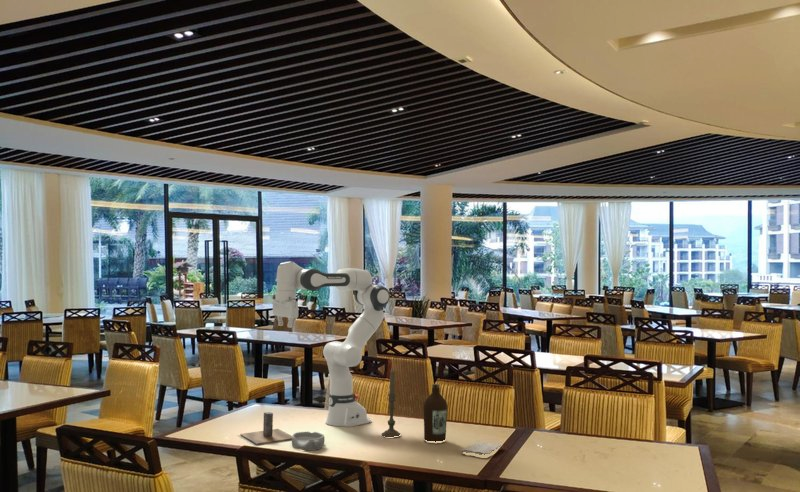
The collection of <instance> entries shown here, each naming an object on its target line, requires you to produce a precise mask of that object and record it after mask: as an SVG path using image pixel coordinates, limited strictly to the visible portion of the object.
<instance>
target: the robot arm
mask: <svg viewBox="0 0 800 492" xmlns="http://www.w3.org/2000/svg"><path fill="white" fill-rule="evenodd" d="M276 283H277V284H276V290H275V291H276V292H275V293H273V294H272V296H271V299H272V300H273V301H272V315H273V316H277V318H276V319H277V322H278V326H280V327H283V326H284V321H283V318H287V320H288V322H287V325H286V326H287V327H286V328H288V329H289V328H290V329H291V328H293V322H294V319H298V318H299V304H298V302H297V300H296V299H297V297H296V296H297V295H296V293H297V291H296V289H299V290H304V291H305V290H306V291H310V292H316V291H319V290H320V289H322V288H324V287H325V288H326V287H327V288H328V287H336V288H337V289H338V290H341V291H353V292H354V295H353V296H354V299H355V302H356V303H357V304H359V305H361V306H364V309H363V311H362V313H361V314H360V315H359V316H358V317H357V318H356V319H355V321H354V322H353V323H352V324H351V326H349V328H348V330H347V333H348V334H347V336H346V338H345V340H344V341H338V340H336V341H335V340H334V341H330V342H327V343H326V344H325V345H324V347H323V351H322V355H323V357H324V358H325V361H326V365H327V368H328V373H329V394H328V412H327V416H326V421H325V423H326V425H329V426H334V427H346V428H347V427H348V428H350V427H356V426H359V425H360V426H361V425H365V424H368V423H369V422H370V423H372V419H371V418H369V417H368V414H367V409H366V408H365V407H364V406H363V405H362V404H360V403H359V402H358V401H357V400H358V399H359V398H360V395H359V394H357V393H353V391H354V390H353V389H354V388H353V387H354V386H353V375H352V373H351V371H350V368H353V367H356V366H358V365H359V364H360V363H361V361H362V358H363V354H362V353H363V350H364V347H365V345H366V344H367V342H368V341H369V340H370V339H371V337H372V336H373V334H375V332H376V331H377V330H378V328H379V327H380V326H381V324H382V322H383V321H384V318H385V313H384V309H386V308H387V305H388V303H389V301H390V298H391V294H390V291H389V288H387V287H386V286H383V285H378V284H374V283H373V278H372V274H371V272H370V271H369V270H366V269H362V268H355V267H353V268H352V267H347V268H346V267H345V268H339V269H338V270H337V271H336V272H327V273H326V272H323V271H320V270H319V269H316V268H308V269H307V268H304V267H302V266H300V265H298V264H297V263H295V261H283V262H281V263H279V265H278V266H277V271H276Z"/></svg>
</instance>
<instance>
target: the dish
mask: <svg viewBox="0 0 800 492" xmlns="http://www.w3.org/2000/svg"><path fill="white" fill-rule="evenodd" d="M291 436H292V441H291V446H292V448H293V447H294V448H296V449H300V450H301V451H316V450H319V449H322V448H323V447H324V445H325V441H326V440H325V435H324V434H323V433H320V432H318V431H313V432H311V431H299V432H294V433H293V434H292V435H291Z"/></svg>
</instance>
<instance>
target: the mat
mask: <svg viewBox="0 0 800 492" xmlns="http://www.w3.org/2000/svg"><path fill="white" fill-rule="evenodd" d="M237 437H238V438H240V439H242V440H243V441H244V442H247V443H249V444H250V445H252V446H254V447H261V446H268V445H274V444H280V443H287V442H292V440H289V441H283V442H276V443H270V444H263V445H255V444H253V443H252V442H250V441H248V440H247V439H245V438H243V437H242V436H240V434H239V435H237Z"/></svg>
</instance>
